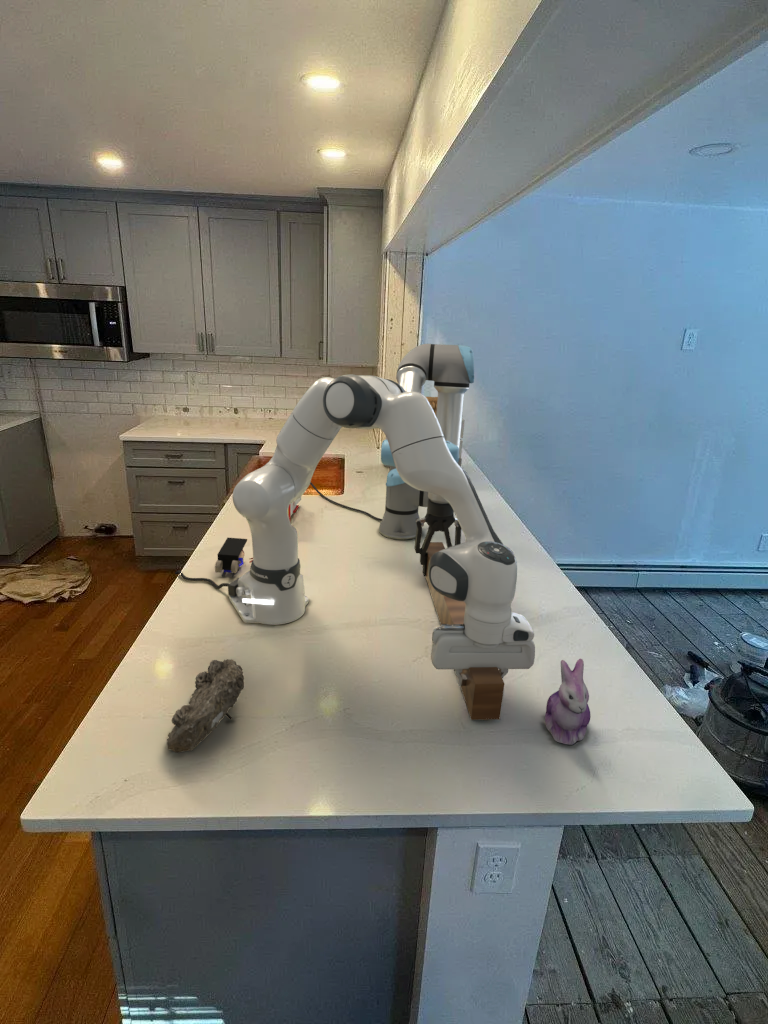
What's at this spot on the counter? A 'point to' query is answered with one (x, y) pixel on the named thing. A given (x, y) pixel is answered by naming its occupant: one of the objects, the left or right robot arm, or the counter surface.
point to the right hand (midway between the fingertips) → (435, 574)
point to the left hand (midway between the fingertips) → (478, 684)
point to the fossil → (206, 705)
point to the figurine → (569, 706)
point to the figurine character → (230, 556)
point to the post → (481, 681)
